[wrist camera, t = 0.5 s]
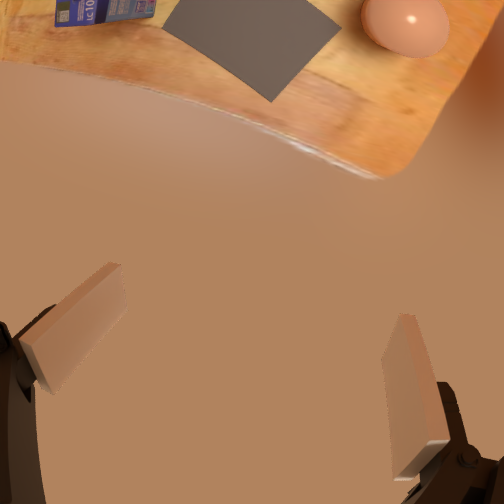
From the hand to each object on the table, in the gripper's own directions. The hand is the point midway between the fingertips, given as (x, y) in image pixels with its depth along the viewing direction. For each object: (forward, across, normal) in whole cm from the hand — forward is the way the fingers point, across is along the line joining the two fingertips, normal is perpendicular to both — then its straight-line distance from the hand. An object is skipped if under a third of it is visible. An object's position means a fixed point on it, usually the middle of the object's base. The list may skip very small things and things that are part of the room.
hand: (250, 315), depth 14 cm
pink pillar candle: (+23, +8, +21) cm, 32 cm away
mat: (+23, -7, +19) cm, 30 cm away
